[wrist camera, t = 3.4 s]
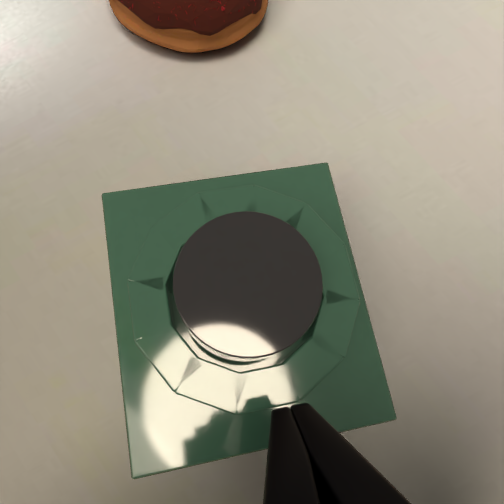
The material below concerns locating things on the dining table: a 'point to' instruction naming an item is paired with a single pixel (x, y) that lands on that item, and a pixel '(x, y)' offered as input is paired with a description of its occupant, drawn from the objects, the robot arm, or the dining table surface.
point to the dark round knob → (247, 285)
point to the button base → (215, 367)
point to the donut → (190, 21)
